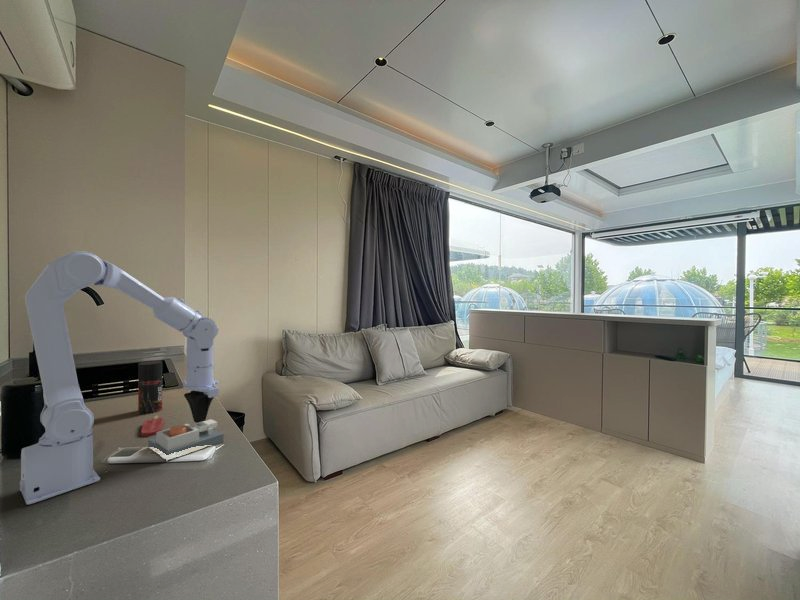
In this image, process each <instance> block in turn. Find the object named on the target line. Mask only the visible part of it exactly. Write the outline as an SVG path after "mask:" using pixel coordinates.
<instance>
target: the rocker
mask: <svg viewBox="0 0 800 600" xmlns="http://www.w3.org/2000/svg"><path fill="white" fill-rule="evenodd" d="M193 425H194V427H195V428H197V429H198V430H199V432H202V431H205V430H208V429H209V428H213V429H214V428H217V427H218V422H217V421H216V420H214V419H211V418H210V419H206V420H205V421H202V422H198V423H196V422H195V423H194V424H193Z"/></svg>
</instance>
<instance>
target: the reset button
mask: <svg viewBox="0 0 800 600" xmlns="http://www.w3.org/2000/svg"><path fill="white" fill-rule="evenodd" d="M169 429H170V437H173V436H177V435H180V434H183V433H186V425H184V424H178V425H174V426H172V427H170V428H169Z"/></svg>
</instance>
